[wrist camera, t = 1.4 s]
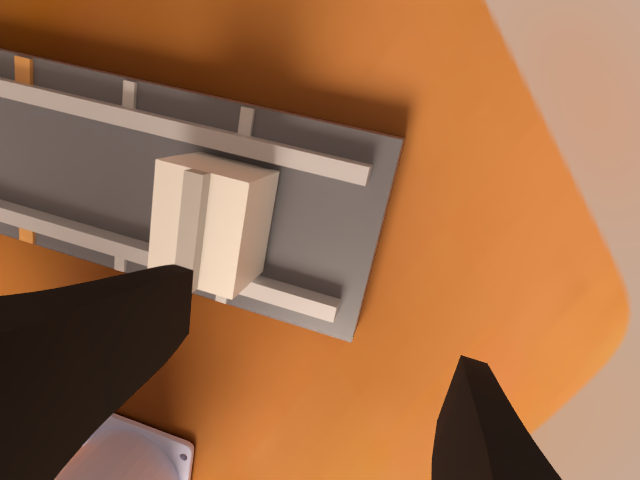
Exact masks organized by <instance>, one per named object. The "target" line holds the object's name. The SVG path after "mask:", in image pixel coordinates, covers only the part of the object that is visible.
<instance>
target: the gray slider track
mask: <svg viewBox="0 0 640 480" xmlns="http://www.w3.org/2000/svg"><path fill="white" fill-rule="evenodd" d="M404 141H405V138H404V137H399V136H395V135H390V134H386V133H381V132H377V131H372V130H368V129H363V128H359V127H354V126H350V125H345V124H341V123H336V122H331V121H327V120H322V119H318V118H313V117H309V116H304V115H300V114H295V113H291V112H286V111H282V110H277V109H273V108H268V107H264V106H259V105H255V104H250V103H246V102H241V101H237V100H232V99H228V98H223V97H219V96H214V95H210V94H205V93H201V92H196V91H192V90H187V89H183V88H178V87H174V86H169V85H165V84H160V83H156V82H151V81H147V80H142V79H138V78H133V77H129V76H124V75H120V74H115V73H111V72H106V71H102V70H97V69H93V68H88V67H84V66H79V65H75V64H70V63H66V62H61V61H57V60H52V59H48V58H43V57H39V56H34V55H30V54H25V53H21V52H16V51H12V50H7V49H3V48H0V234H3V235H6V236H9V237H12V238H16V239H19V240H21V241H24V242H27V243H31V244H35V245H38V246H41V247H45V248H48V249H51V250H54V251H57V252H61V253H64V254H67V255H70V256H74V257H77V258H80V259H83V260H87V261H90V262H93V263H96V264H99V265H103V266H106V267H109V268H112V269H115V270H118V271H121V272H125V273H130V272H135V271H139V270H144V269H147V267H148V253H149V240H150V227H151V213H152V200H153V187H154V174H155V160H156V159H159V158H165V157H171V156H176V155H182V154H188V153H194V152H204V153H208V154H212V155H216V156H220V157H224V158H228V159H232V160H236V161H240V162H244V163H248V164H252V165H256V166H260V167H264V168H268V169H272V170H276V171H280V173H279V179H278V185H277V191H276V196H275V202H274V208H273V214H272V220H271V226H270V232H269V238H268V244H267V250H266V256H265V262H264V268H263V272H262V273H261V274H260V275H258V276H257V277H256V278H255V279H254V280H253V281H252V282H251V283H250V284H249V285H248V286H247V287H246V288H245V289H243V290H242V291H241V292H240V293H239V294H238V295H237V296H236V297H235V298H234V299H233V300H231V299H228V298H224V297H221V296H218V295H215V294H211V293H208V292H205V291H202V290H198V289H197V290H196V291H194V292H193V294H196V295H200V296H203V297H206V298H209V299H212V300H215V301H218V302H221V303H224V304H229V305H232V306H235V307H238V308H241V309H245V310H248V311H251V312H254V313H258V314H261V315H264V316H267V317H271V318H274V319H277V320H280V321H283V322H287V323H290V324H293V325H296V326H300V327H303V328H306V329H309V330H312V331H316V332H319V333H322V334H325V335H329V336H332V337H335V338H338V339H342V340H345V341H348V342H352V340H353V337H354V334H355V331H356V329H357V325H358V321H359V317H360V313H361V309H362V305H363V301H364V297H365V293H366V289H367V286H368V282H369V278H370V274H371V270H372V266H373V262H374V258H375V254H376V250H377V246H378V242H379V239H380V235H381V231H382V227H383V223H384V219H385V215H386V211H387V207H388V203H389V199H390V196H391V192H392V188H393V184H394V180H395V176H396V172H397V168H398V164H399V160H400V156H401V153H402V149H403V145H404Z"/></svg>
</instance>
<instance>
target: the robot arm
mask: <svg viewBox="0 0 640 480" xmlns="http://www.w3.org/2000/svg"><path fill="white" fill-rule="evenodd" d="M193 271H194V270H191V269H188V268H185V267H182V266H178V265H175V264H171V265H163V266H158V267H153V268H148V269H144V270H139V271H135V272H130V273H126V274H122V275H117V276H113V277H109V278H104V279H100V280H95V281H90V282H85V283H80V284H75V285H70V286H65V287H60V288H55V289H49V290H43V291H36V292H29V293H21V294H13V295H5V296H0V480H190V478H191V471H192V463H193V456H194V446H193V444H192V443H191V442H189V441H187V440H184V439H181V438H179V437H176V436H173V435H171V434H168V433H165V432H163V431H160V430H157V429H155V428H152V427H149V426H147V425H144V424H141V423H139V422H136V421H133V420H131V419H128V418H125V417H123V416H120V415H117V414H115V413H114V412H115V411H116V410H117V409H118V408H119V407H120V406H122V405H123V404H124V403H125V402H126V401H127V400H128V399H129V398H130V397H131V396H132V395H133V394H134V393H135V392H136V391H137V390H138V389H139V388H140V387H141V386H142V385H143V384H144V383H146V382H147V381H148V380H149V379H150V378H151V377H152V376H153V375H154V374H155V373H156V372H157V371H158V370H159V369H160V368H161V367H162V366H163V365H164V364H165V363H166V362H167V361H168V359H169V358H170V357H171V356H172V355H173V353H174V352H175V351H176V350H177V348H178V347H179V346H180V344H181V343H182V342H183V340H184V339H185V338H186V336H187V335H188V334H189V325H190V312H191V298H192V285H193ZM81 447H82V448H81ZM80 448H81V449H80ZM79 449H80V450H79ZM78 450H79V451H78ZM184 454H185V455H184ZM432 480H562V479H561V478H560V476H559V475H558V474H557V473H556V471H555V470H554V469H553V467H552V466H551V464H550V463H549V462H548V460H547V459H546V457H545V456H544V455H543V453H542V452H541V450H540V449H539V447H538V446H537V445H536V443H535V442H534V440H533V439H532V437H531V436H530V434H529V433H528V431H527V430H526V428H525V426H524V425H523V423H522V422H521V420H520V419H519V417H518V415H517V414H516V412H515V410H514V409H513V407H512V405H511V404H510V402H509V400H508V399H507V397H506V395H505V394H504V392H503V390H502V388H501V387H500V385H499V383H498V381H497V380H496V378H495V376H494V374H493V373H492V371H491V369H490V367H489V366H488V364H487V363H484V362H481V361H478V360H475V359H471V358H468V357H465V356H462V355H461V357H460V359H459V362H458V365H457V368H456V370H455V373H454V376H453V379H452V381H451V384H450V387H449V390H448V392H447V395H446V398H445V401H444V403H443V406H442V409H441V412H440V414H439V417H438V420H437V426H436V433H435V440H434V447H433V455H432Z"/></svg>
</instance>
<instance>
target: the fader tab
mask: <svg viewBox="0 0 640 480" xmlns="http://www.w3.org/2000/svg"><path fill="white" fill-rule="evenodd" d="M279 173H280V171H276V170H272V169H268V168H264V167H260V166H256V165H252V164H248V163H244V162H240V161H236V160H232V159H228V158H224V157H220V156H216V155H212V154H208V153H204V152H194V153H188V154H182V155H176V156H171V157H165V158H159V159H156V160H155V174H154V187H153V200H152V213H151V227H150V240H149V253H148V267H147V269H148V268H153V267H158V266H163V265H171V264H175V265H178V266H182V267H185V268H188V269H191V270H194V271H193V285H192V293H193V292H194V291H196V290H197V289H198V290H202V291H205V292H208V293H211V294H215V295H218V296H221V297H224V298H228V299H231V300H233V299H234V298H235V297H236V296H237V295H238V294H239V293H240V292H241V291H242V290H243V289H245V288H246V287H247V286H248V285H249V284H250V283H251V282H252V281H253V280H254V279H255V278H256V277H257V276H258V275H260V274H261V273H262V272H263V268H264V262H265V256H266V250H267V244H268V238H269V232H270V226H271V220H272V214H273V208H274V202H275V196H276V191H277V185H278V179H279Z"/></svg>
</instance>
